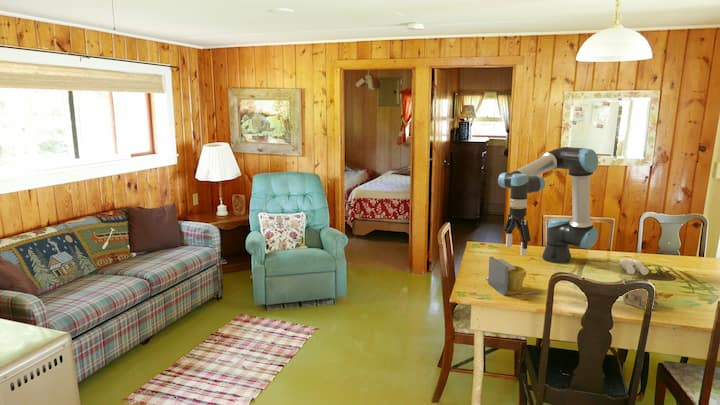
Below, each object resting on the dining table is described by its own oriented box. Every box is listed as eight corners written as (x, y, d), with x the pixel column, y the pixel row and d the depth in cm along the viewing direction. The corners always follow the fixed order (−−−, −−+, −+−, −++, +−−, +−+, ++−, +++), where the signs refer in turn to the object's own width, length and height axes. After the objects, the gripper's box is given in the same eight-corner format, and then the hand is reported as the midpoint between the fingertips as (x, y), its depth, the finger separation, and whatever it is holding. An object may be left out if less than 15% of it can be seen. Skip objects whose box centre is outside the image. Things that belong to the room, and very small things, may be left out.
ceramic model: (662, 305, 218) (664, 283, 216) (654, 313, 210) (657, 290, 208) (627, 296, 228) (629, 276, 226) (619, 303, 220) (621, 282, 218)
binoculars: (626, 274, 257) (627, 266, 256) (617, 264, 272) (617, 256, 271) (648, 275, 255) (649, 267, 254) (637, 265, 270) (638, 257, 269)
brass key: (495, 275, 256) (496, 274, 256) (500, 277, 254) (500, 275, 253) (484, 279, 252) (484, 277, 252) (489, 281, 249) (489, 279, 249)
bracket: (519, 280, 250) (521, 253, 247) (538, 293, 233) (540, 264, 230) (487, 283, 246) (488, 256, 243) (504, 296, 230) (506, 267, 227)
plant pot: (526, 292, 234) (527, 272, 232) (503, 291, 236) (504, 271, 234) (523, 284, 244) (524, 265, 242) (502, 283, 246) (502, 264, 244)
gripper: (498, 202, 243) (496, 244, 247) (524, 213, 219) (522, 259, 223) (512, 201, 245) (510, 242, 249) (540, 212, 221) (537, 258, 225)
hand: (516, 250), depth 236 cm, fingers open, 13 cm apart
